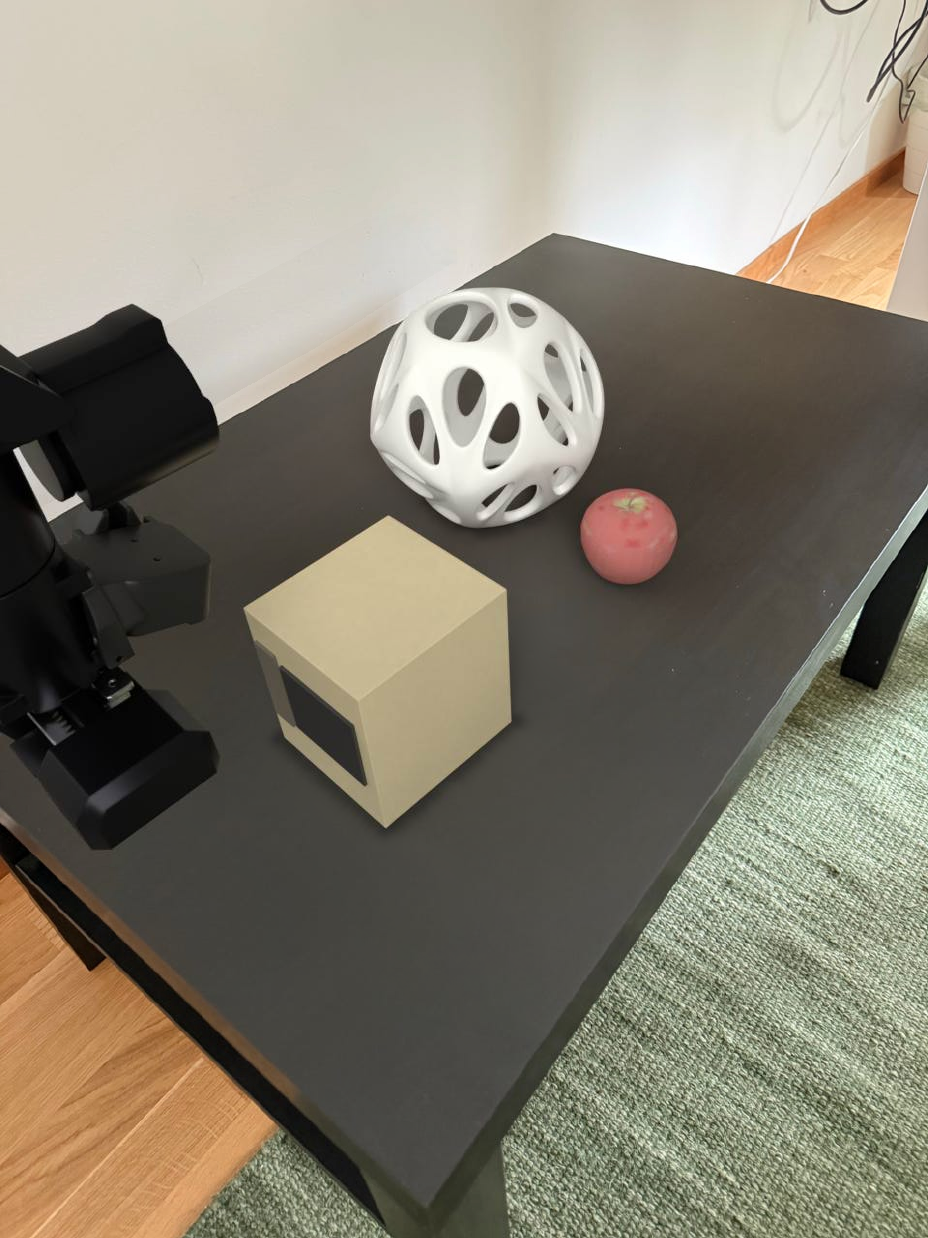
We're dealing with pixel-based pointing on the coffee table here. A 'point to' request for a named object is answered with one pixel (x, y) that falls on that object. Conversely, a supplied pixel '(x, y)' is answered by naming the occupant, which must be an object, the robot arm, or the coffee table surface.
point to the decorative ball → (488, 407)
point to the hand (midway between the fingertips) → (110, 784)
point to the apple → (628, 535)
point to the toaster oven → (386, 664)
